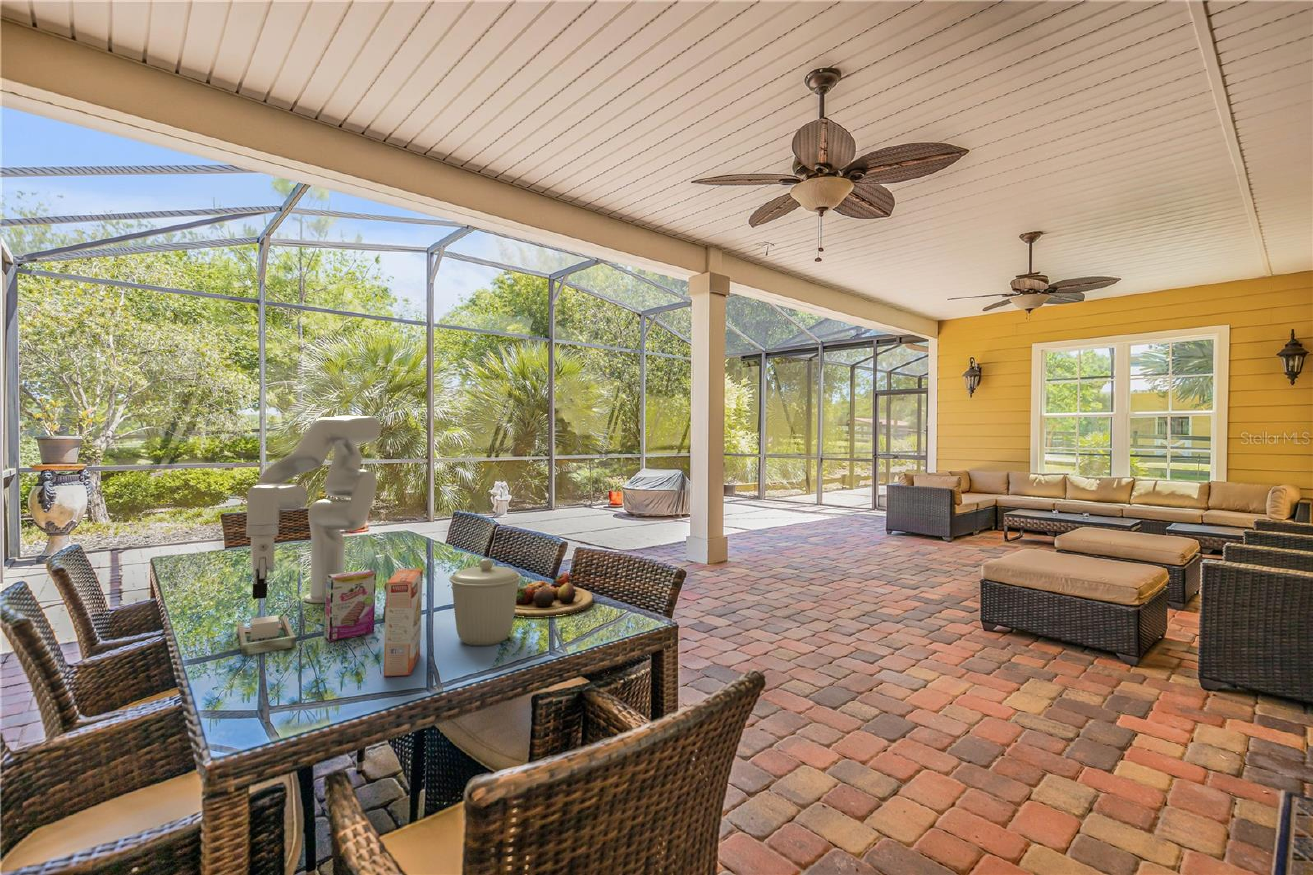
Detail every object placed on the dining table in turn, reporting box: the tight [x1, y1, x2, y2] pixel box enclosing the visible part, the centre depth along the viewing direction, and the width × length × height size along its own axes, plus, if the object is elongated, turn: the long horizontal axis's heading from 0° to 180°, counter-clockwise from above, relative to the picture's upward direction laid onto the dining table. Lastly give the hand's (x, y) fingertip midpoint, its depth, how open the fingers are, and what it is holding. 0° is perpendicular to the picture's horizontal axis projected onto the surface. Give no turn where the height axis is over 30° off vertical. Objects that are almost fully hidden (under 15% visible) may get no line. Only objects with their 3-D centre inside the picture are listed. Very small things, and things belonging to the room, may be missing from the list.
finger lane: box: [237, 615, 297, 656], centre depth 157 cm, size 11×23×2 cm, turn 37°
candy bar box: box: [323, 569, 377, 643], centre depth 160 cm, size 11×5×16 cm, turn 134°
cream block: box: [250, 614, 280, 640], centre depth 160 cm, size 6×6×4 cm
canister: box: [449, 558, 522, 646], centre depth 159 cm, size 18×18×21 cm
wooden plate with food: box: [514, 572, 594, 617], centre depth 194 cm, size 32×32×8 cm
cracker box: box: [383, 568, 424, 677], centre depth 140 cm, size 14×6×21 cm, turn 12°
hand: (259, 597), depth 167 cm, fingers closed
